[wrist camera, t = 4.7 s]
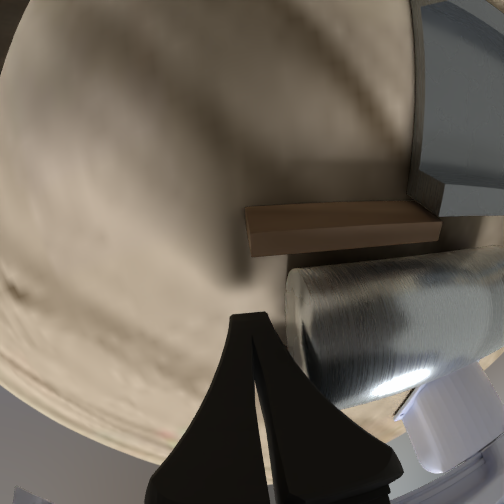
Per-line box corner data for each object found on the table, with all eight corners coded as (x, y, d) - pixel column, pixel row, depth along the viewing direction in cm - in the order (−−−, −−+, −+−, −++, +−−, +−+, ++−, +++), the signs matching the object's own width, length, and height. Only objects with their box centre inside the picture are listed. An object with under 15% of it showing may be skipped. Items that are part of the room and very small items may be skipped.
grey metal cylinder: (480, 227, 11) (547, 283, 7) (452, 305, 14) (497, 366, 10) (286, 240, 11) (333, 352, 6) (283, 338, 13) (307, 438, 9)
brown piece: (375, 340, 15) (388, 366, 13) (253, 360, 14) (257, 391, 12) (414, 200, 10) (442, 221, 9) (245, 206, 10) (250, 233, 8)
